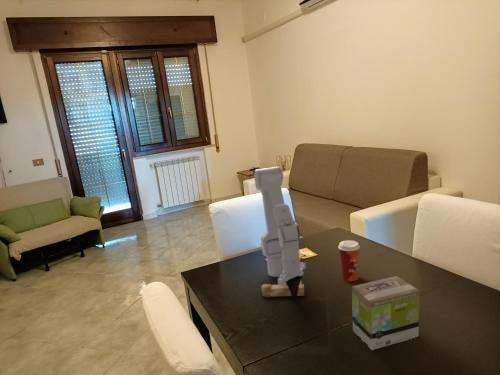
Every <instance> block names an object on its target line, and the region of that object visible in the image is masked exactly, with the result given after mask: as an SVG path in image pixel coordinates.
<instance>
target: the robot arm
mask: <svg viewBox="0 0 500 375" xmlns="http://www.w3.org/2000/svg"><path fill="white" fill-rule="evenodd" d="M283 172H284V171H283V169H282V167H281V166H279V165H277V166H273V167H266V168H255V170H254V173H253V175H254V176H253V177H254V183H255V188H256V190H258V191H260V192H261V197H262V202H263V210H264V217H265V227H266V231H265V232H264V233H263V234H262V235H261V236H260V247H261V252H262V254H263V256H264V257H266V264H267V265H266V266H267V274H268V276H270V277H273V278H277V285H282V286H283V285H285V284H284V283H285V282H286V284H287V286H288V288H289V290H290V293H291V296H290V297H295V298H297V297H298V296H297V295H298V288H299V284H300V282H301V283H302V280H303V275H304V271H303V270H306V268H307V266H306V262H301V260H300V250H299V249H300V247H299V241H300V240H301V231H300V227H299V224H298V223H297V221H296V220H295V219H294V218H293V214H292V212H291V209H290V206H289V205H288V204H286V203H285V198H284V195H283V191H282V185H283V182H284V173H283Z"/></svg>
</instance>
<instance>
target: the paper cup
mask: <svg viewBox="0 0 500 375" xmlns="http://www.w3.org/2000/svg"><path fill="white" fill-rule="evenodd" d="M337 247H338V249H339V256H340V267H341V273H342V274H341V275H342V279H343V281H345V282H347V281H348V283H353V282H352V281H355V282H357V281H358V280H359V267H360V266H359V264H360V263H359V262H360V248H361V246H360V244H359V242H358V241H356V240H342V241H340V242H339V244H338V246H337ZM356 280H357V281H356Z"/></svg>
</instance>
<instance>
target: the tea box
mask: <svg viewBox="0 0 500 375" xmlns="http://www.w3.org/2000/svg"><path fill="white" fill-rule="evenodd" d="M351 307H352V310H351V312H352V331H353V332H354V333H355V334H356V336H357V337H358V336H359V337H360V338H361V339H360V338H359V337H358V338H359V339H360V340H361V341H362V342H363V343H364V342H365V343H366V344H367V345H368V346H367V345H366V344H365V343H364V344H365V345H366V346H367V347H368V348H369V350H370V351H375V350H377V349H381V348H384V347H388V346H391V345H395V344H398V343H402V342H405V341H409V339H410V340H413V339H412V338H414V339H416V338H415V337H418V336H419V332H420V330H419V329H420V290H419V289H418V288H416V287H414V286H413V285H412V284H410V283H409V282H407V281H405V280H404V279H402V278H401V277H399V276H398V275H395V276H390V277H386V278H382V279H377V280H372V281H368V282H365V283H364V282H363V283H359V284H355V285H352V286H351ZM418 338H419V337H418Z"/></svg>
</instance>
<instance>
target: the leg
mask: <svg viewBox="0 0 500 375" xmlns="http://www.w3.org/2000/svg"><path fill="white" fill-rule="evenodd" d="M261 293H262V294H261V295H262V297H264V298H270V297H292V296H291V293H290V290H289V288H288V286H287V285H283V286H282V285H278V284H270V283H265V284H262V285H261ZM298 296H299V297H301V296H302V297H303V296H305V284H304V283H301V284H299V288H298V295H297V297H298Z"/></svg>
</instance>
